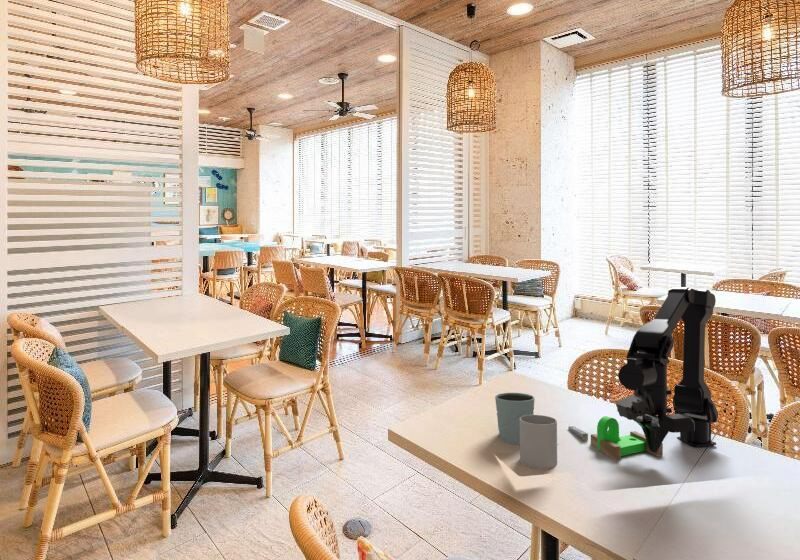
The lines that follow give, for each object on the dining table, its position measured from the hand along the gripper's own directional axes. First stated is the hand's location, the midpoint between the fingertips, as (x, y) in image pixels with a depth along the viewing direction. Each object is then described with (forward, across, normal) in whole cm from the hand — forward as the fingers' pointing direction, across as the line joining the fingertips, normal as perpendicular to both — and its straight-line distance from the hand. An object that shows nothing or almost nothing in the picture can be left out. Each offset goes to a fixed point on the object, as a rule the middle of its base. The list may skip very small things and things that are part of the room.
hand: (653, 451), depth 114 cm
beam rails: (+3, -10, 0) cm, 10 cm away
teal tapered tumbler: (+3, -22, -24) cm, 33 cm away
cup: (+3, -7, -25) cm, 26 cm away
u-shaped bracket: (+3, -20, -12) cm, 24 cm away
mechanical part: (+3, -10, 0) cm, 11 cm away
